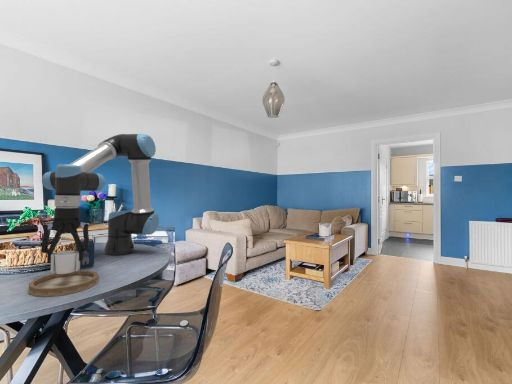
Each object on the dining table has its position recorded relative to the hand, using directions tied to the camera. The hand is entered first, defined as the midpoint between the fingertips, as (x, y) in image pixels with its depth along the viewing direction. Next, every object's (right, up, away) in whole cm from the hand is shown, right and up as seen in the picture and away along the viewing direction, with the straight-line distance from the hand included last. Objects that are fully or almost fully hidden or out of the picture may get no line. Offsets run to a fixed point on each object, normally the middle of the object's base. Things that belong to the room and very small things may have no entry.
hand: (65, 270), depth 94 cm
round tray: (0, -5, 0) cm, 5 cm away
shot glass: (0, -1, 0) cm, 1 cm away
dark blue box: (-8, -5, +23) cm, 25 cm away
